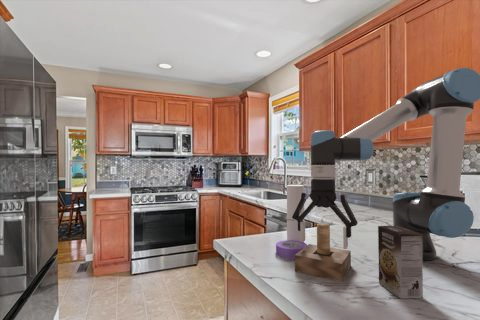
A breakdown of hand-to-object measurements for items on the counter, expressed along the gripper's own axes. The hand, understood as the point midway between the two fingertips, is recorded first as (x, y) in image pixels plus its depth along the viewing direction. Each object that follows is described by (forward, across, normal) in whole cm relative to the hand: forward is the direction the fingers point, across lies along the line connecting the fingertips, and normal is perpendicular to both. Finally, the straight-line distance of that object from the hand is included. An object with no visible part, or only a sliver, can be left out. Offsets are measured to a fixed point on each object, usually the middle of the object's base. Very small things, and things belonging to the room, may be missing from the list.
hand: (323, 244), depth 84 cm
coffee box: (+8, +21, -4) cm, 23 cm away
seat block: (+8, 0, 0) cm, 8 cm away
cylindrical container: (+8, -17, +20) cm, 27 cm away
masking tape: (+8, -14, +8) cm, 18 cm away
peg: (+8, 0, 0) cm, 8 cm away
